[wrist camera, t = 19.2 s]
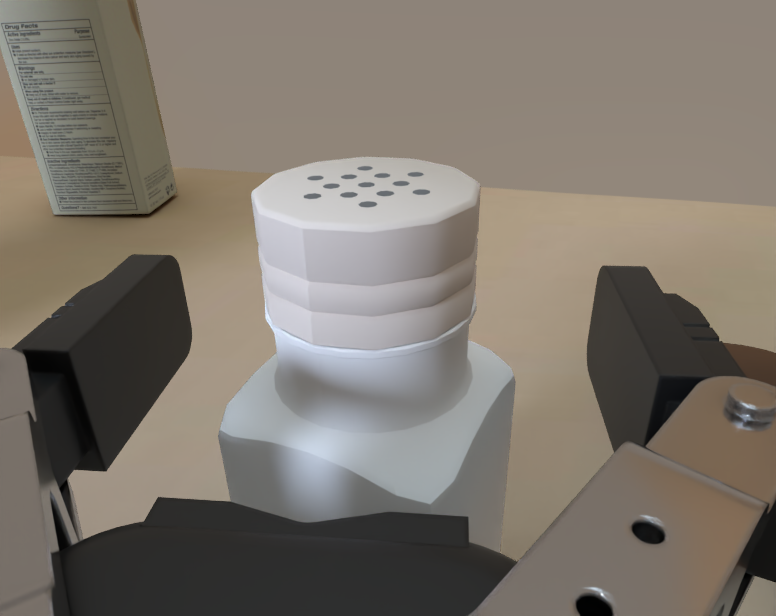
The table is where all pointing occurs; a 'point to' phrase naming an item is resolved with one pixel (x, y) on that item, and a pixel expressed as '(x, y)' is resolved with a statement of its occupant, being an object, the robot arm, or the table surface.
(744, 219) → the table surface
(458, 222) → the salt shaker
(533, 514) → the table surface
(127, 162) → the cosmetic box
